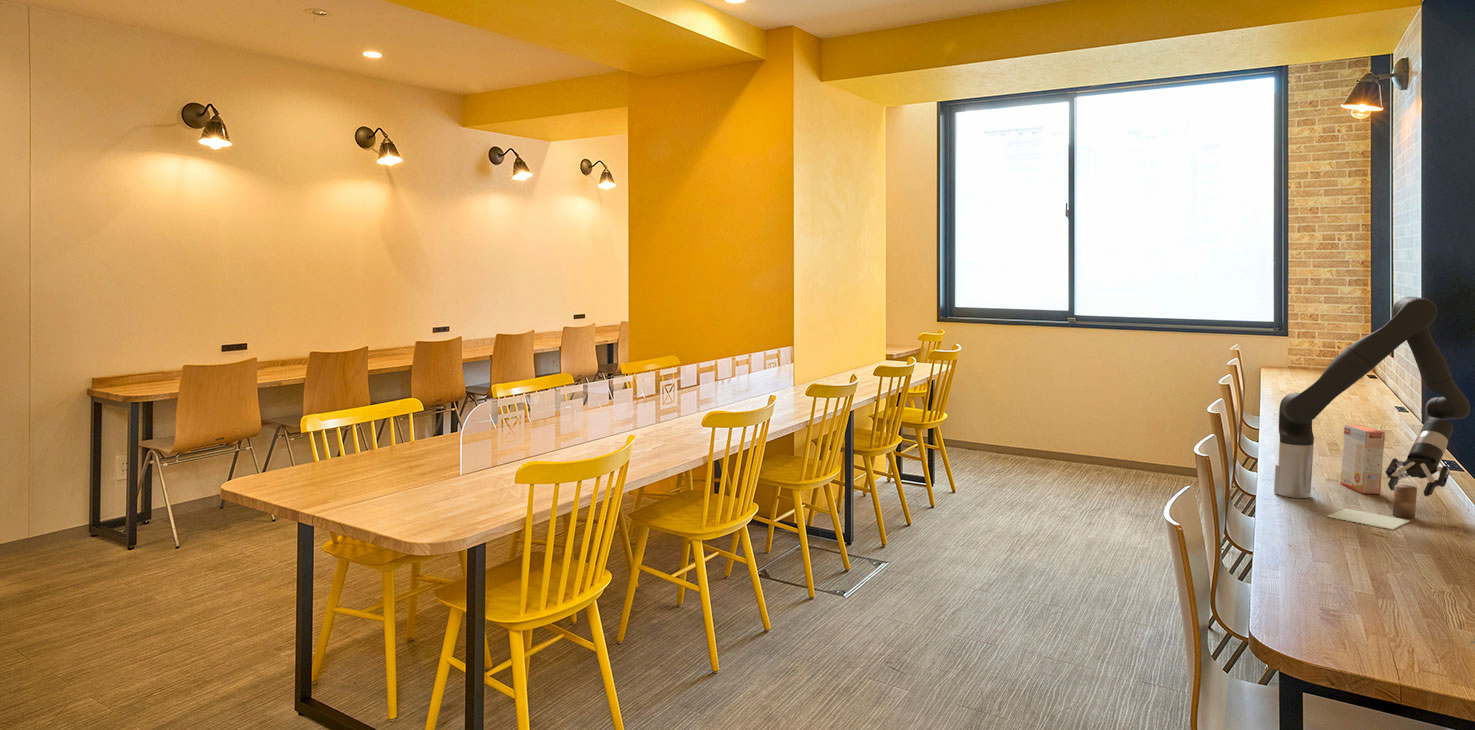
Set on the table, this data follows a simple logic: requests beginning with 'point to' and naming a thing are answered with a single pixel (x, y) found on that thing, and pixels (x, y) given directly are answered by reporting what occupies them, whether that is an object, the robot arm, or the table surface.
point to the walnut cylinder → (1404, 501)
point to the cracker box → (1362, 458)
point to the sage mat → (1369, 519)
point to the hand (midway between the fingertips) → (1408, 491)
